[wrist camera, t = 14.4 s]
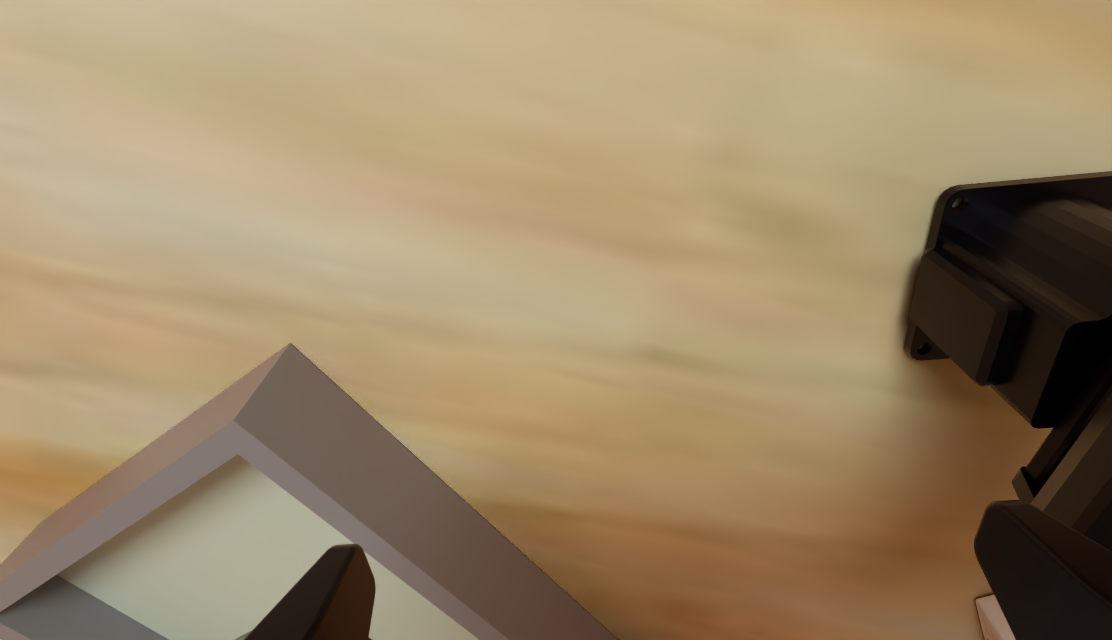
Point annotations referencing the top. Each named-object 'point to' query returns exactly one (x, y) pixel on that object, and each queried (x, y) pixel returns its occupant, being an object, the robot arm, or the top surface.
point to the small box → (993, 619)
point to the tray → (274, 532)
